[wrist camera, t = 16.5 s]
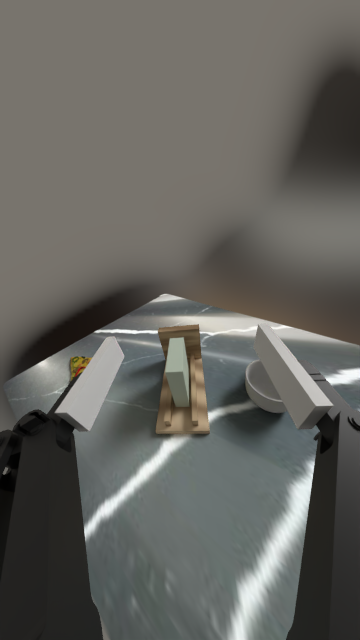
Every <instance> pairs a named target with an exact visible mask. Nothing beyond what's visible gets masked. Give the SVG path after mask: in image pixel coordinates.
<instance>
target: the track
mask: <svg viewBox="0 0 360 640" xmlns="http://www.w3.org/2000/svg"><path fill="white" fill-rule="evenodd" d="M158 334H159V338H160V342H161V345H162V349H163V352H164V356H165V359H166V362H167V355H168V348H169V341H170V338H182V337H184V343H185V350H186V356H187V362H188V368H189V395H190V407H176V406H175V403H174V400H173V396H172V393H171V390H170V387H169V384H168V380H167V377H166V374H165V370H164V377H163V384H162V391H161V397H160V404H159V411H158V418H157V425H156V433H157V434H210V431H209V422H208V413H207V404H206V395H205V386H204V377H203V368H202V359H201V346H200V333H199V324H198V325H187V326H175V327H164V328H159V330H158ZM165 369H166V364H165Z"/></svg>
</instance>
